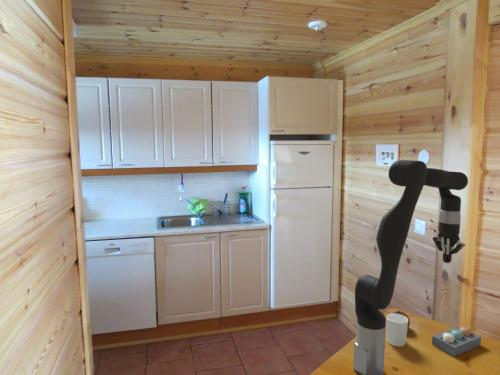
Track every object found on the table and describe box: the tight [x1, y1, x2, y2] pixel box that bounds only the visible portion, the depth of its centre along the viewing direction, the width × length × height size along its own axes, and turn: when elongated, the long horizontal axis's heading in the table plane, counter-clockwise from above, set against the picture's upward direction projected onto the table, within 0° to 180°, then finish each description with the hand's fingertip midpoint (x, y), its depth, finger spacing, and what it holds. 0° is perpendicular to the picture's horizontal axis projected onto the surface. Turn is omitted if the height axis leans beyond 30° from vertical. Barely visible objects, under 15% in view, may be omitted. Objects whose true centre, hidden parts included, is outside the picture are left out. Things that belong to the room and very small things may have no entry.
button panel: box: [431, 325, 482, 357], centre depth 137 cm, size 16×9×4 cm, turn 116°
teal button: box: [451, 330, 463, 341], centre depth 136 cm, size 4×4×4 cm
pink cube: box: [459, 326, 472, 337], centre depth 139 cm, size 4×4×4 cm
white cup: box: [385, 312, 409, 347], centre depth 139 cm, size 8×8×10 cm
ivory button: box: [443, 333, 454, 344], centre depth 134 cm, size 4×4×4 cm
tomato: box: [393, 310, 411, 330], centre depth 149 cm, size 8×8×7 cm
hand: (446, 262), depth 145 cm, fingers closed
